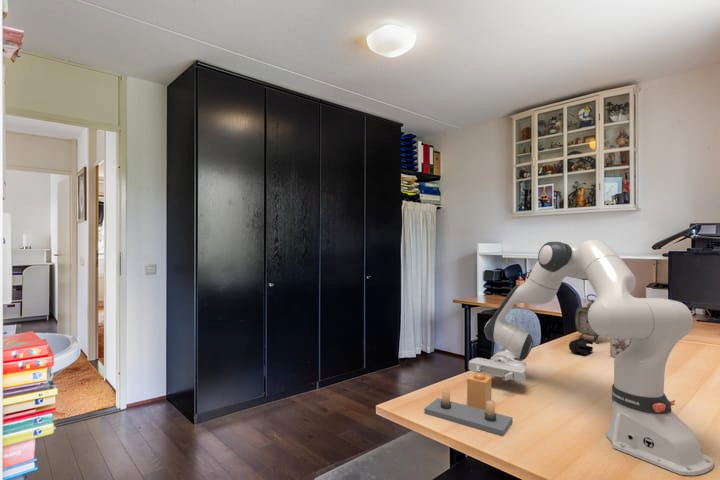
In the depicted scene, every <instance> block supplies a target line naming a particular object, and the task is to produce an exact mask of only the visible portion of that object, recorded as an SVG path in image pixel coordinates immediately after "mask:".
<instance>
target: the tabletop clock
mask: <svg viewBox="0 0 720 480" xmlns="http://www.w3.org/2000/svg"><path fill="white" fill-rule="evenodd" d="M589 296H591V297H592V296H593V297H595V298H596V294H592V293H589V294H588V295H587V296H586V299H587V301H588V302H589V303H587V305H586V306H582V307H577V308H576V310H575V313H574V314H575V315H574V322H575V329H576V331H577V332H578V333H580V335H579V336H578V339H579V338H582V337H583V335H585V336H589V337H593V341H595V344H599V343H600V341H599V337H601V336H600V335H598V334H596V333H595V332H594V331H593V329H592V328H591V326H590V324H589V322H588V311H589V308H590V306H591V305H592V304H593V303H594V302H595V301H596V300H594V299H591V300H590V299H589Z"/></svg>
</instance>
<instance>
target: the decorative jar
mask: <svg viewBox="0 0 720 480" xmlns="http://www.w3.org/2000/svg"><path fill="white" fill-rule="evenodd" d="M609 340H610V343H609V346H610V347H609V349H610V350H609V354H610V357H611V358H614V359H615V357H616V356H617V355H618V354H619V353H620V352H622V351H623V350H625V349H626V348H627V347H628V346H629V345H630V343H631V342H632V339H614V338H610V339H609Z"/></svg>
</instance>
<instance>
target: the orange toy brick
mask: <svg viewBox="0 0 720 480" xmlns="http://www.w3.org/2000/svg"><path fill="white" fill-rule="evenodd" d="M492 377H493V376H487V375H486V374H483V373H476V372H473V373H472V374H471V375H469V377H468V378H467V381H466V382H467V384H466V385H467V386H466V387H467V390H466V395H467V396H466V402H467V403H466V405H467V406H471V407H475V408H478V409H482V410H486V401H492Z"/></svg>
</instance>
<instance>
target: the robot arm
mask: <svg viewBox="0 0 720 480" xmlns="http://www.w3.org/2000/svg"><path fill="white" fill-rule="evenodd" d="M537 259H538V260H537V261H536V262H535V264H534V266H533V267H532V270H531V271H530V273H529V275H528V278H526V280H525V282H524V283H522V284H516V285H515V286H514V287H513V288H512V289H511V290H510V291H509V293H508V294H507V295H506V297H505V298H504V299H503V301H502V302H501V303H500V305H499V307H498V308H497V309H496V310H495V312H494V314H493V315H492V317H490V319H489V320H488V321H487V322H486V323H485V325H484V328H483V332H484V333H483V334H485V335H484V336H485V338H486V339H487V340H488V341H491V342H493V343H494V344H498V345H499V346H501V347H503V348H501V349H500V350H498V352H496V353H495V354H494V355H492V356H491V358H490V359H487V358H483V357H475V358H471V359H470V360H469V361H468V370H469V371H470V372H473V373H483V374H485V375H488V376H491V377H493V376H494V377H498V378H502V379H501V380H502V381H506V382H507V381H508V380H512V381H517V382H520V383H521V382H522V383H523V382H526V380H527V364H526V359H527V358H528V356H529V354H530V353H531V351H532V348H533V345H534V340H533V337H532V334H530V333H528V331H526V330H524V329H522V328H520V327H518V326H516V325H514V324H513V323H510V322H508V321H507V320H506V317H507V315H509V313H510V312H511V310H512V309H513V307H514V306H515V305H516V304H527V305H528V304H529V305H535V306H536V305H545V304H548V303H550V302H551V301H553V299H554V298H555V297H556V295H557V293H558V291H559V289H560V288H561V287H560V286H561V285H562V283H563V280H564V279H565V278H567V277H568V278H573V279H578V280H582V281H588V282H589V284H590V285H591V288H592V289H593V290H594V291H593V292H594V293H595V295H596V297H595V298H596V299H595V300H594V301H595V302H593V304H592V305H591V306H590V308H589V311H588V322H589V324H590V326H591V328H592V329H593V331H594V332H595V333H596V334H598V335H600V336H599V337H605V338H614V339H632V342H631V343H630V345H629V346H628V347H627V348H626V349H625V350H623V351H622V352H620V353H619V354H618V355H617V356H616V357H615V358H614V361H613V384H612V385H611V401H612V408H611V410H612V411H611V417H610V421H609V425H608V428H607V430H606V433H605V434H606V437H607V438H608V439H609V440H610V442H611V447H612V448H613V449H615V450H618V451H620V452H622V453H625V454H627V455H630V456H632V457H635V458H638V459H639V460H643V461H645V462H648V463H650V464H652V465H655V466H656V467H657V466H658V467H660V468H662V469H664V470H668V471H670V472H672V473H675V474H678V475H681V476H698V475H703V474H705V473H708V472H709V471H711V470H712V469H713V468H714V459H713V458H712V457H711V456H709V455H707V454H705V453H703V452H702V446H701V442H700V439H699V436H698V435H697V434H696V432H695V431H693V430H692V429H691V428H690V427H689V426H688V425H686V424H685V422H684V421H682V419H681V418H679V417H678V416H677V415H676V414H675V413H674V412H673V411H672V406H675V405H676V403H675V402H676V400H675V399H674V400H673V399H672V400H669V399H668V397H667V396H666V394H665V392H664V391H665V373H666V372H665V371H666V365H667V362H668V358H669V356H670V354H671V352H672V350H673V349H674V348H675V346H676V345H677V344H678V342H680V341H681V339H683V338H684V337H686V336H687V335H688V334H690V333H691V331H692V329H693V326H694V316H693V313H692V311H691V310H690V309H689V307H688V306H687V305H686V304H684V303H683V302H681V301H678V300H673V299H668V298H663V297H661V298H660V297H635V296H633V295H631V294H632V292H633V291H635V287H636V285H637V283H636V282H637V278H636V276H635V275H634V274H633V272H632V271H631V270H630V268H629V267H628V265H626V262H624V260H623V259H622V257H620V255H618V253H617V252H616V251H615V250H614V249H613V248H612V246H609V245H608V244H607V243H606V242H604V241H603V240H600V239H589V240H586V241H584V242H582V243H581V244H580V245H576V244H572V243H564V242H561V241H547V242H546V243H544V244H543V245H542V246H541V247H540V249H539V251H538V254H537Z"/></svg>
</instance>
